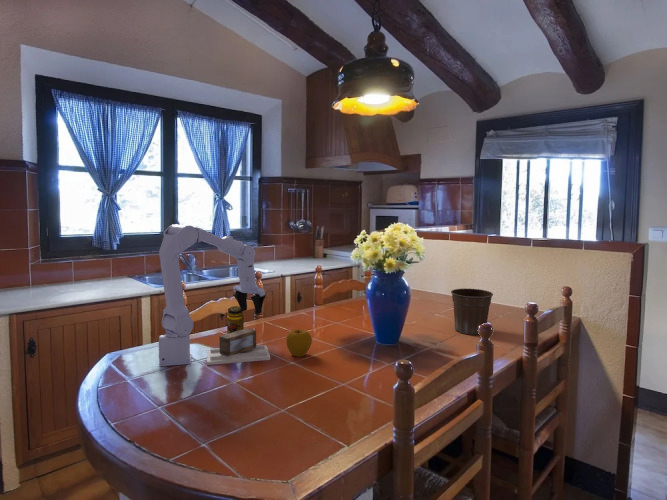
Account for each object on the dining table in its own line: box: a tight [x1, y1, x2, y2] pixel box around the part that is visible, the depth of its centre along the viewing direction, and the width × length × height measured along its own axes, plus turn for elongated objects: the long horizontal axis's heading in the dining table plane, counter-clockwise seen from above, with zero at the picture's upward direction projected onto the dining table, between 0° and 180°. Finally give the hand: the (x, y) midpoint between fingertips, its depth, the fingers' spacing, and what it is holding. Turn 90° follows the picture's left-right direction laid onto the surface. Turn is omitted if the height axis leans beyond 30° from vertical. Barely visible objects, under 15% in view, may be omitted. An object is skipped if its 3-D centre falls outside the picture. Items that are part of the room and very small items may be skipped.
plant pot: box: [450, 288, 494, 336], centre depth 181 cm, size 16×16×16 cm
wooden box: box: [218, 327, 257, 357], centre depth 148 cm, size 12×4×6 cm, turn 140°
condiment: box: [224, 305, 245, 335], centre depth 165 cm, size 7×8×12 cm
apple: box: [285, 328, 313, 358], centre depth 151 cm, size 8×8×9 cm
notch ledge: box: [206, 344, 271, 366], centre depth 149 cm, size 20×11×2 cm, turn 105°
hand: (251, 311), depth 164 cm, fingers open, 7 cm apart
